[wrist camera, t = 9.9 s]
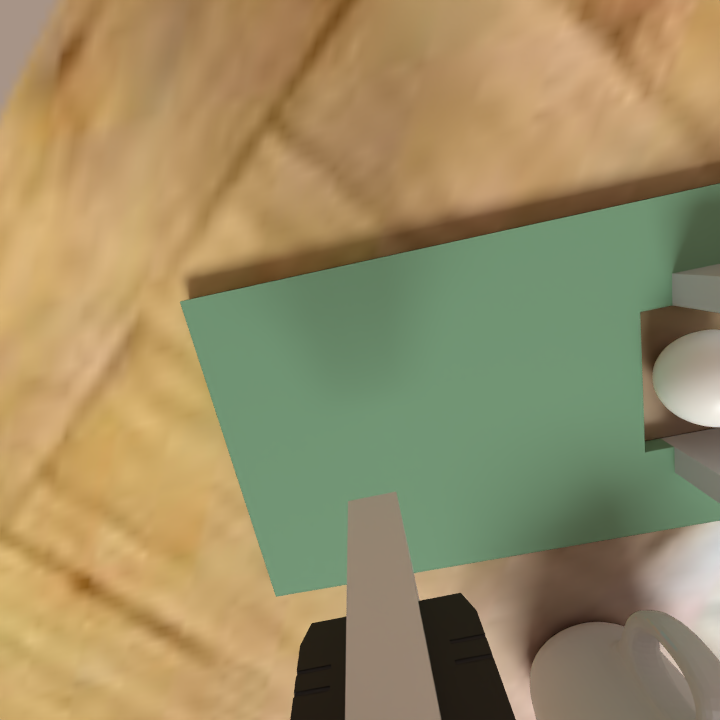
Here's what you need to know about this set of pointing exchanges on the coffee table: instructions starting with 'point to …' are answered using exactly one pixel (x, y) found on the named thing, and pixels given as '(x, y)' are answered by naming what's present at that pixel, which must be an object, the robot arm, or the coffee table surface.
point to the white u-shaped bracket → (708, 447)
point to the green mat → (458, 391)
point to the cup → (626, 672)
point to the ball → (691, 377)
